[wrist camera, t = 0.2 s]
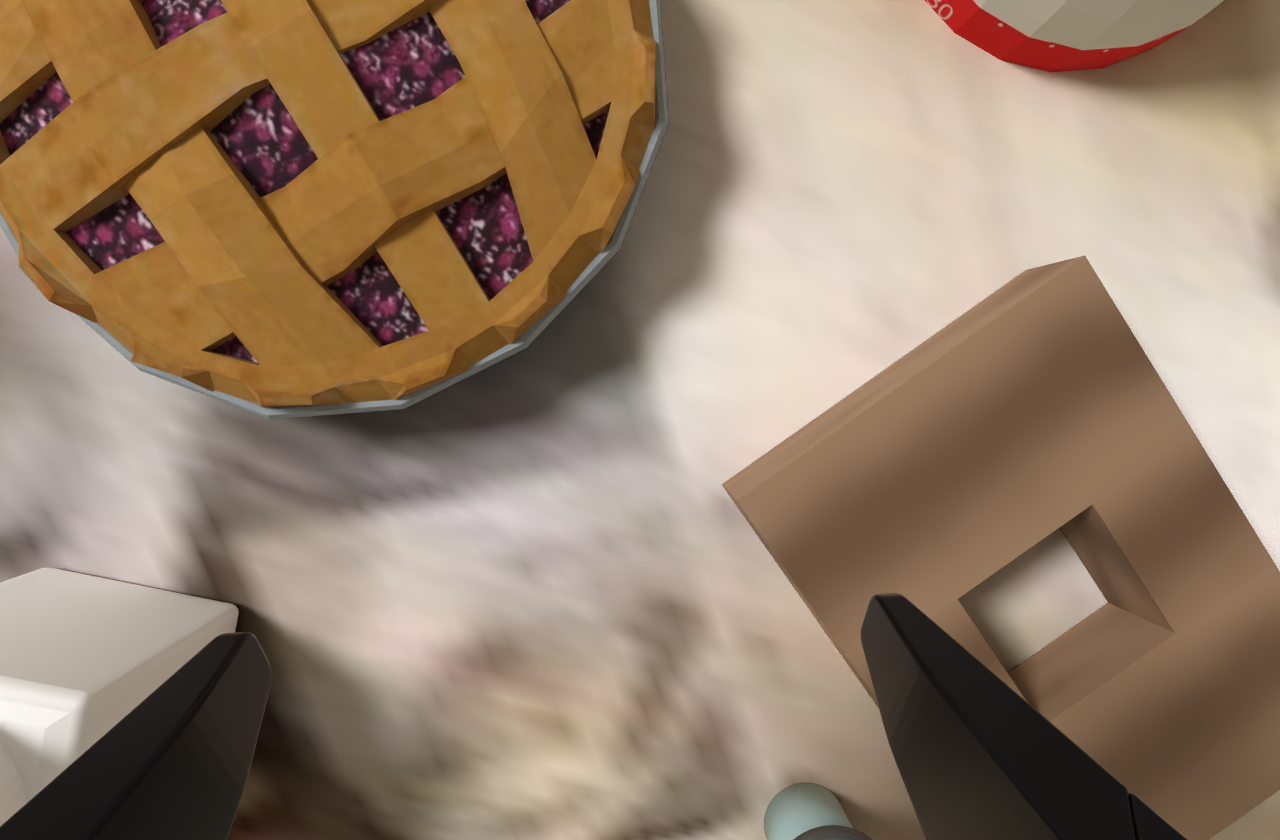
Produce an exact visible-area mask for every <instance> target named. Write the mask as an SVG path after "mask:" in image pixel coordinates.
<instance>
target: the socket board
mask: <svg viewBox="0 0 1280 840" xmlns="http://www.w3.org/2000/svg"><path fill="white" fill-rule="evenodd" d="M722 485H723V487H724V488H725V490H726V491H727V493H728V494H729V495H730V497H731V498H732V500H733V501H734V502H735V504H736V505H737V507H738V508H739V510H740V511H741V512H742V514H743V515H744V517H745V518H746V520H747V521H748V522H749V524H750V525H751V527H752V528H753V530H754V531H755V532H756V534H757V535H758V537H759V538H760V540H761V541H762V542H763V544H764V545H765V547H766V548H767V550H768V551H769V552H770V554H771V555H772V557H773V558H774V560H775V561H776V562H777V564H778V565H779V567H780V568H781V570H782V571H783V572H784V574H785V575H786V577H787V578H788V580H789V581H790V582H791V584H792V585H793V587H794V588H795V589H796V591H797V592H798V594H799V595H800V597H801V598H802V599H803V601H804V602H805V604H806V605H807V607H808V608H809V609H810V611H811V612H812V614H813V615H814V617H815V618H816V619H817V621H818V622H819V624H820V625H821V627H822V628H823V629H824V631H825V632H826V634H827V635H828V637H829V638H830V639H831V641H832V642H833V644H834V645H835V647H836V648H837V649H838V651H839V652H840V654H841V655H842V657H843V658H844V659H845V661H846V662H847V664H848V665H849V667H850V668H851V669H852V671H853V672H854V674H855V675H856V676H857V678H858V679H859V681H860V682H861V684H862V685H863V686H864V688H865V689H866V691H867V692H868V694H869V695H870V696H871V698H872V699H873V701H874V702H875V704H876V705H877V706H878V702H877V699H876V695H875V691H874V688H873V684H872V680H871V677H870V673H869V669H868V666H867V662H866V658H865V654H864V651H863V647H862V643H861V627H862V623H863V620H864V617H865V614H866V611H867V607H868V604H869V601H870V599H871V597H872V596H874V595H875V594H887V593H898V594H901V595H903V596H904V597H906V598H907V599H908V600H909V601H910V602H911V603H913V604H914V605H915V606H916V607H917V608H918V609H920V610H921V611H922V612H923V613H924V614H925V615H927V616H928V617H929V618H930V619H931V620H932V621H934V622H935V623H936V624H937V625H938V626H939V627H941V628H942V629H943V630H944V631H945V632H946V633H948V634H949V635H950V636H951V637H952V638H953V639H954V640H956V641H957V642H958V643H959V644H960V645H961V646H963V647H964V648H965V649H966V650H967V651H968V652H970V653H971V654H972V655H973V656H974V657H975V658H977V659H978V660H979V661H980V662H981V663H982V664H984V665H985V666H986V667H987V668H988V669H989V670H991V671H992V672H993V673H994V674H995V675H996V676H998V677H999V678H1000V679H1001V680H1002V681H1003V682H1005V683H1006V684H1007V685H1008V686H1009V687H1010V688H1011V689H1013V690H1014V691H1015V692H1016V693H1017V694H1018V695H1020V696H1021V697H1022V698H1023V699H1024V700H1025V701H1027V702H1028V703H1029V704H1030V705H1031V706H1032V707H1034V708H1035V709H1036V710H1037V711H1038V712H1039V713H1041V714H1042V715H1043V716H1044V717H1045V718H1046V719H1048V720H1049V721H1050V722H1051V723H1052V724H1053V725H1055V726H1056V727H1057V728H1058V729H1059V730H1060V731H1061V732H1063V733H1064V734H1065V735H1066V736H1067V737H1068V738H1070V739H1071V740H1072V741H1073V742H1074V743H1075V744H1077V745H1078V746H1079V747H1080V748H1081V749H1082V750H1084V751H1085V752H1086V753H1087V754H1088V755H1089V756H1091V757H1092V758H1093V759H1094V760H1095V761H1096V762H1098V763H1099V764H1100V765H1101V766H1102V767H1103V768H1105V769H1106V770H1107V771H1108V772H1109V773H1110V774H1112V775H1113V776H1114V777H1115V778H1116V779H1117V780H1118V781H1120V782H1121V783H1122V784H1123V785H1124V786H1125V787H1126V788H1127V789H1128V793H1133V794H1135V795H1136V796H1137V797H1139V798H1140V799H1141V800H1142V801H1143V802H1144V803H1146V804H1147V805H1148V806H1149V807H1150V808H1151V809H1153V810H1154V811H1155V812H1156V813H1157V814H1158V815H1160V816H1161V817H1162V818H1163V819H1164V820H1165V821H1167V822H1168V823H1169V824H1170V825H1171V826H1173V827H1174V828H1175V829H1176V830H1177V831H1179V832H1180V833H1181V834H1182V835H1183V836H1185V837H1186V838H1187V839H1188V840H1208V839H1210V838H1211V837H1213V836H1214V835H1215V834H1217V833H1218V832H1220V831H1221V830H1223V829H1224V828H1225V827H1227V826H1228V825H1230V824H1231V823H1233V822H1234V821H1235V820H1237V819H1238V818H1240V817H1241V816H1243V815H1244V814H1245V813H1247V812H1248V811H1250V810H1251V809H1253V808H1254V807H1255V806H1257V805H1258V804H1260V803H1261V802H1263V801H1264V800H1265V799H1267V798H1268V797H1270V796H1271V795H1273V794H1274V793H1275V792H1277V791H1278V790H1280V572H1279V570H1278V568H1277V567H1276V565H1275V563H1274V562H1273V560H1272V559H1271V557H1270V555H1269V554H1268V552H1267V550H1266V549H1265V547H1264V546H1263V544H1262V542H1261V541H1260V539H1259V537H1258V536H1257V534H1256V533H1255V531H1254V529H1253V528H1252V526H1251V524H1250V523H1249V521H1248V520H1247V518H1246V516H1245V515H1244V513H1243V511H1242V510H1241V508H1240V507H1239V505H1238V503H1237V502H1236V500H1235V499H1234V497H1233V495H1232V494H1231V492H1230V490H1229V489H1228V487H1227V486H1226V484H1225V482H1224V481H1223V479H1222V477H1221V476H1220V474H1219V473H1218V471H1217V469H1216V468H1215V466H1214V464H1213V463H1212V461H1211V460H1210V458H1209V456H1208V455H1207V453H1206V451H1205V450H1204V448H1203V447H1202V445H1201V443H1200V442H1199V440H1198V438H1197V437H1196V435H1195V434H1194V432H1193V430H1192V429H1191V427H1190V425H1189V424H1188V422H1187V421H1186V419H1185V417H1184V416H1183V414H1182V412H1181V411H1180V409H1179V408H1178V406H1177V404H1176V403H1175V401H1174V399H1173V398H1172V396H1171V395H1170V393H1169V391H1168V390H1167V388H1166V386H1165V385H1164V383H1163V382H1162V380H1161V378H1160V377H1159V375H1158V373H1157V372H1156V370H1155V369H1154V367H1153V365H1152V364H1151V362H1150V361H1149V359H1148V357H1147V356H1146V354H1145V352H1144V351H1143V349H1142V348H1141V346H1140V344H1139V343H1138V341H1137V339H1136V338H1135V336H1134V335H1133V333H1132V331H1131V330H1130V328H1129V326H1128V325H1127V323H1126V322H1125V320H1124V318H1123V317H1122V315H1121V313H1120V312H1119V310H1118V309H1117V307H1116V305H1115V304H1114V302H1113V300H1112V299H1111V297H1110V296H1109V294H1108V292H1107V291H1106V289H1105V287H1104V286H1103V284H1102V283H1101V281H1100V279H1099V278H1098V276H1097V274H1096V273H1095V271H1094V270H1093V268H1092V266H1091V265H1090V263H1089V261H1088V260H1087V258H1086V257H1085V256H1081V257H1077V258H1073V259H1069V260H1065V261H1061V262H1057V263H1053V264H1049V265H1045V266H1041V267H1037V268H1033V269H1029V270H1026V271H1024V272H1023V273H1021V274H1020V275H1018V276H1017V277H1016V278H1014V279H1013V280H1011V281H1010V282H1009V283H1007V284H1006V285H1004V286H1003V287H1001V288H1000V289H999V290H997V291H996V292H994V293H993V294H991V295H990V296H989V297H987V298H986V299H984V300H983V301H982V302H980V303H979V304H977V305H976V306H974V307H973V308H972V309H970V310H969V311H967V312H966V313H965V314H963V315H962V316H960V317H959V318H957V319H956V320H955V321H953V322H952V323H950V324H949V325H948V326H946V327H945V328H943V329H942V330H940V331H939V332H938V333H936V334H935V335H933V336H932V337H931V338H929V339H928V340H926V341H925V342H923V343H922V344H921V345H919V346H918V347H916V348H915V349H914V350H912V351H911V352H909V353H908V354H906V355H905V356H904V357H902V358H901V359H899V360H898V361H897V362H895V363H894V364H892V365H891V366H889V367H888V368H887V369H885V370H884V371H882V372H881V373H880V374H878V375H877V376H875V377H874V378H872V379H871V380H870V381H868V382H867V383H865V384H864V385H863V386H861V387H860V388H858V389H857V390H855V391H854V392H853V393H851V394H850V395H848V396H847V397H846V398H844V399H843V400H841V401H840V402H838V403H837V404H836V405H834V406H833V407H831V408H830V409H828V410H827V411H826V412H824V413H823V414H821V415H820V416H819V417H817V418H816V419H814V420H813V421H811V422H810V423H809V424H807V425H806V426H804V427H803V428H802V429H800V430H799V431H797V432H796V433H794V434H793V435H792V436H790V437H789V438H787V439H786V440H785V441H783V442H782V443H780V444H779V445H777V446H776V447H775V448H773V449H772V450H770V451H769V452H768V453H766V454H765V455H763V456H762V457H760V458H759V459H758V460H756V461H755V462H753V463H752V464H751V465H749V466H748V467H746V468H745V469H743V470H742V471H741V472H739V473H738V474H736V475H735V476H734V477H732V478H731V479H729V480H728V481H726V482H725V483H724V484H722ZM1058 528H1060V529H1061V530H1062V532H1063V533H1064V535H1065V536H1066V538H1067V540H1068V541H1069V543H1070V544H1071V546H1072V547H1073V549H1074V550H1075V552H1076V553H1077V555H1078V556H1079V558H1080V560H1081V561H1082V563H1083V564H1084V566H1085V567H1086V569H1087V570H1088V572H1089V573H1090V575H1091V577H1092V578H1093V580H1094V581H1095V583H1096V584H1097V586H1098V587H1099V589H1100V590H1101V592H1102V593H1103V595H1104V597H1105V598H1106V600H1107V601H1108V603H1107V604H1106V605H1104V606H1103V607H1101V608H1100V609H1099V610H1097V611H1096V612H1094V613H1093V614H1091V615H1090V616H1089V617H1087V618H1086V619H1084V620H1083V621H1081V622H1080V623H1079V624H1077V625H1076V626H1074V627H1073V628H1071V629H1070V630H1069V631H1067V632H1066V633H1064V634H1063V635H1061V636H1060V637H1059V638H1057V639H1056V640H1054V641H1053V642H1051V643H1050V644H1049V645H1047V646H1046V647H1044V648H1043V649H1042V650H1040V651H1039V652H1037V653H1036V654H1034V655H1033V656H1032V657H1030V658H1029V659H1027V660H1026V661H1024V662H1023V663H1022V664H1020V665H1019V666H1017V667H1016V668H1014V669H1013V670H1012V671H1010V672H1009V673H1007V672H1006V670H1005V669H1004V667H1003V666H1002V664H1001V663H1000V661H999V660H998V658H997V657H996V655H995V654H994V652H993V651H992V649H991V648H990V646H989V645H988V643H987V642H986V640H985V639H984V637H983V636H982V635H981V633H980V632H979V630H978V629H977V627H976V626H975V624H974V623H973V621H972V620H971V618H970V617H969V615H968V614H967V612H966V611H965V609H964V608H963V606H962V605H961V603H960V602H959V600H958V599H959V598H960V597H961V596H963V595H964V594H966V593H967V592H968V591H970V590H971V589H973V588H974V587H976V586H977V585H978V584H980V583H981V582H983V581H984V580H986V579H987V578H988V577H990V576H991V575H993V574H994V573H996V572H997V571H998V570H1000V569H1001V568H1003V567H1004V566H1005V565H1007V564H1008V563H1010V562H1011V561H1013V560H1014V559H1015V558H1017V557H1018V556H1020V555H1021V554H1023V553H1024V552H1025V551H1027V550H1028V549H1030V548H1031V547H1032V546H1034V545H1035V544H1037V543H1038V542H1040V541H1041V540H1042V539H1044V538H1045V537H1047V536H1048V535H1050V534H1051V533H1052V532H1054V531H1055V530H1057V529H1058ZM878 708H879V706H878Z"/></svg>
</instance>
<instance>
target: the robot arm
mask: <svg viewBox="0 0 1280 840" xmlns="http://www.w3.org/2000/svg"><path fill="white" fill-rule="evenodd" d="M861 643H862V647H863V651H864V654H865V658H866V662H867V666H868V669H869V673H870V677H871V680H872V684H873V688H874V691H875V695H876V699H877V702H878V706H879V710H880V713H881V717H882V721H883V724H884V728H885V731H886V735H887V738H888V741H889V744H890V747H891V750H892V753H893V755H894V758H895V761H896V763H897V766H898V769H899V771H900V774H901V776H902V779H903V782H904V784H905V787H906V789H907V792H908V794H909V797H910V800H911V802H912V805H913V807H914V810H915V812H916V815H917V818H918V820H919V823H920V825H921V828H922V831H923V833H924V836H925V838H926V840H1188V839H1187V838H1186V837H1185V836H1183V835H1182V834H1181V833H1180V832H1179V831H1177V830H1176V829H1175V828H1174V827H1173V826H1171V825H1170V824H1169V823H1168V822H1167V821H1165V820H1164V819H1163V818H1162V817H1161V816H1160V815H1158V814H1157V813H1156V812H1155V811H1154V810H1153V809H1151V808H1150V807H1149V806H1148V805H1147V804H1146V803H1144V802H1143V801H1142V800H1141V799H1140V798H1139V797H1137V796H1136V795H1135V794H1133V793H1128V789H1127V788H1126V787H1125V786H1124V785H1123V784H1122V783H1121V782H1120V781H1118V780H1117V779H1116V778H1115V777H1114V776H1113V775H1112V774H1110V773H1109V772H1108V771H1107V770H1106V769H1105V768H1103V767H1102V766H1101V765H1100V764H1099V763H1098V762H1096V761H1095V760H1094V759H1093V758H1092V757H1091V756H1089V755H1088V754H1087V753H1086V752H1085V751H1084V750H1082V749H1081V748H1080V747H1079V746H1078V745H1077V744H1075V743H1074V742H1073V741H1072V740H1071V739H1070V738H1068V737H1067V736H1066V735H1065V734H1064V733H1063V732H1061V731H1060V730H1059V729H1058V728H1057V727H1056V726H1055V725H1053V724H1052V723H1051V722H1050V721H1049V720H1048V719H1046V718H1045V717H1044V716H1043V715H1042V714H1041V713H1039V712H1038V711H1037V710H1036V709H1035V708H1034V707H1032V706H1031V705H1030V704H1029V703H1028V702H1027V701H1025V700H1024V699H1023V698H1022V697H1021V696H1020V695H1018V694H1017V693H1016V692H1015V691H1014V690H1013V689H1011V688H1010V687H1009V686H1008V685H1007V684H1006V683H1005V682H1003V681H1002V680H1001V679H1000V678H999V677H998V676H996V675H995V674H994V673H993V672H992V671H991V670H989V669H988V668H987V667H986V666H985V665H984V664H982V663H981V662H980V661H979V660H978V659H977V658H975V657H974V656H973V655H972V654H971V653H970V652H968V651H967V650H966V649H965V648H964V647H963V646H961V645H960V644H959V643H958V642H957V641H956V640H954V639H953V638H952V637H951V636H950V635H949V634H948V633H946V632H945V631H944V630H943V629H942V628H941V627H939V626H938V625H937V624H936V623H935V622H934V621H932V620H931V619H930V618H929V617H928V616H927V615H925V614H924V613H923V612H922V611H921V610H920V609H918V608H917V607H916V606H915V605H914V604H913V603H911V602H910V601H909V600H908V599H907V598H906V597H904V596H903V595H901V594H898V593H887V594H875V595H874V596H872V597H871V599H870V601H869V604H868V607H867V611H866V614H865V617H864V620H863V623H862V627H861ZM271 682H272V669H271V665H270V663H269V661H268V659H267V657H266V655H265V653H264V651H263V649H262V648H261V646H260V644H259V642H258V640H257V638H256V636H255V635H254V634H252V633H250V632H236V633H224V634H221V635H219V636H217V637H215V638H214V639H213V640H211V641H210V642H209V643H208V644H207V645H206V646H205V647H204V648H202V649H201V650H200V651H199V652H198V653H197V654H196V655H194V656H193V657H192V658H191V659H190V660H189V661H188V662H186V663H185V664H184V665H183V666H182V667H181V668H180V669H179V670H177V671H176V672H175V673H174V674H173V675H172V676H171V677H169V678H168V679H167V680H166V681H165V682H164V683H163V684H161V685H160V686H159V687H158V688H157V689H156V690H155V691H154V692H152V693H151V694H150V695H149V696H148V697H147V698H146V699H144V700H143V701H142V702H141V703H140V704H139V705H138V706H136V707H135V708H134V709H133V710H132V711H131V712H130V713H129V714H127V715H126V716H125V717H124V718H123V719H122V720H121V721H119V722H118V723H117V724H116V725H115V726H114V727H113V728H111V729H110V730H109V731H108V732H107V733H106V734H105V735H104V736H102V737H101V738H100V739H99V740H98V741H97V742H96V743H94V744H93V745H92V746H91V747H90V748H89V749H88V750H86V751H85V752H84V753H83V754H82V755H81V756H80V757H79V758H77V759H76V760H75V761H74V762H73V763H72V764H71V765H69V766H68V767H67V768H66V769H65V770H64V771H63V772H61V773H60V774H59V775H58V776H57V777H56V778H55V779H54V780H52V781H51V782H50V783H49V784H48V785H47V786H46V787H44V788H43V789H42V790H41V791H40V792H39V793H38V794H36V795H35V796H34V797H33V798H32V799H31V800H30V801H29V802H27V803H26V804H25V805H24V806H23V807H22V808H21V809H19V810H18V811H17V812H16V813H15V814H14V815H13V816H11V817H10V818H9V819H8V820H7V821H6V822H5V823H4V824H2V825H1V826H0V840H227V838H228V835H229V832H230V829H231V827H232V824H233V821H234V818H235V816H236V813H237V810H238V807H239V804H240V801H241V798H242V795H243V792H244V789H245V785H246V781H247V778H248V774H249V770H250V766H251V762H252V758H253V754H254V750H255V746H256V742H257V738H258V734H259V730H260V726H261V722H262V718H263V714H264V710H265V706H266V702H267V698H268V694H269V690H270V686H271Z"/></svg>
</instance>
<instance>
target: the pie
mask: <svg viewBox="0 0 1280 840" xmlns="http://www.w3.org/2000/svg"><path fill="white" fill-rule="evenodd" d="M668 124H669V119H668V105H667V92H666V78H665V64H664V50H663V36H662V23H661V9H660V0H0V226H1V228H2V229H3V231H4V233H5V234H6V236H7V238H8V240H9V241H10V243H11V245H12V246H13V248H14V250H15V252H16V253H17V255H18V257H19V268H20V269H21V270H22V272H23V273H24V274H25V275H26V276H27V277H28V278H29V279H30V280H31V281H32V283H33V284H34V285H35V286H36V287H37V288H38V289H39V290H40V291H41V293H42V294H43V295H44V296H45V297H46V298H47V299H48V300H49V301H50V302H52V303H54V304H56V305H58V306H60V307H62V308H64V309H67V310H69V311H71V312H73V313H75V314H77V315H78V316H79V317H80V318H81V319H82V320H83V321H84V322H86V323H87V324H88V325H89V326H90V327H91V328H92V329H94V330H95V331H96V332H97V333H98V334H99V335H100V336H101V337H103V338H104V339H105V340H106V341H107V342H108V343H109V344H111V345H112V346H113V347H114V348H115V349H116V350H117V351H118V352H120V353H121V354H122V355H123V356H124V357H125V358H126V359H128V360H129V361H130V362H131V363H132V364H133V365H134V366H135V367H137V368H138V369H139V370H140V371H143V372H146V373H148V374H151V375H154V376H156V377H159V378H162V379H164V380H167V381H169V382H172V383H175V384H177V385H180V386H183V387H185V388H188V389H191V390H193V391H196V392H199V393H201V394H204V395H206V396H209V397H212V398H214V399H217V400H220V401H222V402H225V403H228V404H230V405H233V406H236V407H238V408H241V409H244V410H246V411H249V412H251V413H254V414H257V415H259V416H262V417H265V418H267V419H283V418H295V417H308V416H321V415H333V414H346V413H358V412H371V411H383V410H396V409H405V408H407V407H409V406H411V405H413V404H415V403H417V402H419V401H421V400H423V399H425V398H427V397H429V396H431V395H433V394H435V393H437V392H439V391H441V390H443V389H445V388H447V387H449V386H451V385H453V384H455V383H457V382H459V381H461V380H463V379H465V378H467V377H469V376H471V375H473V374H475V373H477V372H479V371H481V370H483V369H485V368H487V367H489V366H491V365H493V364H495V363H497V362H499V361H501V360H503V359H505V358H507V357H509V356H511V355H513V354H515V353H517V352H519V351H521V350H523V349H525V348H527V347H528V346H529V345H530V344H531V343H532V341H533V340H534V339H535V338H536V337H537V336H538V335H539V334H540V333H541V332H542V331H543V330H544V329H545V328H546V327H547V326H548V325H549V324H550V322H551V321H552V320H553V319H554V318H555V317H556V316H557V315H558V314H559V313H560V312H561V311H562V310H563V309H564V308H565V307H566V306H567V304H568V303H569V302H570V301H571V300H572V299H573V298H574V297H575V296H576V295H577V294H578V293H579V292H580V291H581V290H582V289H583V288H584V287H585V285H586V284H587V283H588V282H589V281H590V280H591V279H592V278H593V277H594V276H595V275H596V274H597V273H598V272H599V271H600V270H601V269H602V267H603V266H604V265H605V264H606V263H607V262H608V261H609V260H610V259H611V258H612V257H613V256H614V255H615V254H616V253H617V252H618V251H619V249H620V247H621V245H622V242H623V240H624V237H625V235H626V232H627V229H628V227H629V224H630V222H631V219H632V217H633V214H634V211H635V209H636V206H637V204H638V201H639V199H640V196H641V194H642V191H643V188H644V186H645V183H646V181H647V178H648V176H649V173H650V170H651V168H652V165H653V163H654V160H655V158H656V155H657V153H658V150H659V147H660V145H661V142H662V140H663V137H664V135H665V132H666V129H667V127H668Z"/></svg>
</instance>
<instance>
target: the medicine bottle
mask: <svg viewBox="0 0 1280 840" xmlns="http://www.w3.org/2000/svg"><path fill="white" fill-rule="evenodd" d="M238 615H239V611H238V608H237V607H236V605H233V604H231V603H226V602H221V601H216V600H211V599H206V598H201V597H196V596H191V595H186V594H181V593H176V592H171V591H166V590H161V589H156V588H151V587H146V586H141V585H136V584H131V583H126V582H121V581H116V580H111V579H106V578H101V577H96V576H91V575H86V574H81V573H76V572H71V571H66V570H61V569H56V568H41V569H38V570H35V571H32V572H30V573H27V574H24V575H21V576H18V577H15V578H12V579H9V580H6V581H3V582H1V583H0V826H1V825H2V824H4V823H5V822H6V821H7V820H8V819H9V818H10V817H11V816H13V815H14V814H15V813H16V812H17V811H18V810H19V809H21V808H22V807H23V806H24V805H25V804H26V803H27V802H29V801H30V800H31V799H32V798H33V797H34V796H35V795H36V794H38V793H39V792H40V791H41V790H42V789H43V788H44V787H46V786H47V785H48V784H49V783H50V782H51V781H52V780H54V779H55V778H56V777H57V776H58V775H59V774H60V773H61V772H63V771H64V770H65V769H66V768H67V767H68V766H69V765H71V764H72V763H73V762H74V761H75V760H76V759H77V758H79V757H80V756H81V755H82V754H83V753H84V752H85V751H86V750H88V749H89V748H90V747H91V746H92V745H93V744H94V743H96V742H97V741H98V740H99V739H100V738H101V737H102V736H104V735H105V734H106V733H107V732H108V731H109V730H110V729H111V728H113V727H114V726H115V725H116V724H117V723H118V722H119V721H121V720H122V719H123V718H124V717H125V716H126V715H127V714H129V713H130V712H131V711H132V710H133V709H134V708H135V707H136V706H138V705H139V704H140V703H141V702H142V701H143V700H144V699H146V698H147V697H148V696H149V695H150V694H151V693H152V692H154V691H155V690H156V689H157V688H158V687H159V686H160V685H161V684H163V683H164V682H165V681H166V680H167V679H168V678H169V677H171V676H172V675H173V674H174V673H175V672H176V671H177V670H179V669H180V668H181V667H182V666H183V665H184V664H185V663H186V662H188V661H189V660H190V659H191V658H192V657H193V656H194V655H196V654H197V653H198V652H199V651H200V650H201V649H202V648H204V647H205V646H206V645H207V644H208V643H209V642H210V641H211V640H213V639H214V638H215V637H217V636H219V635H221V634H224V633H235V631H236V625H237V620H238Z"/></svg>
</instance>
